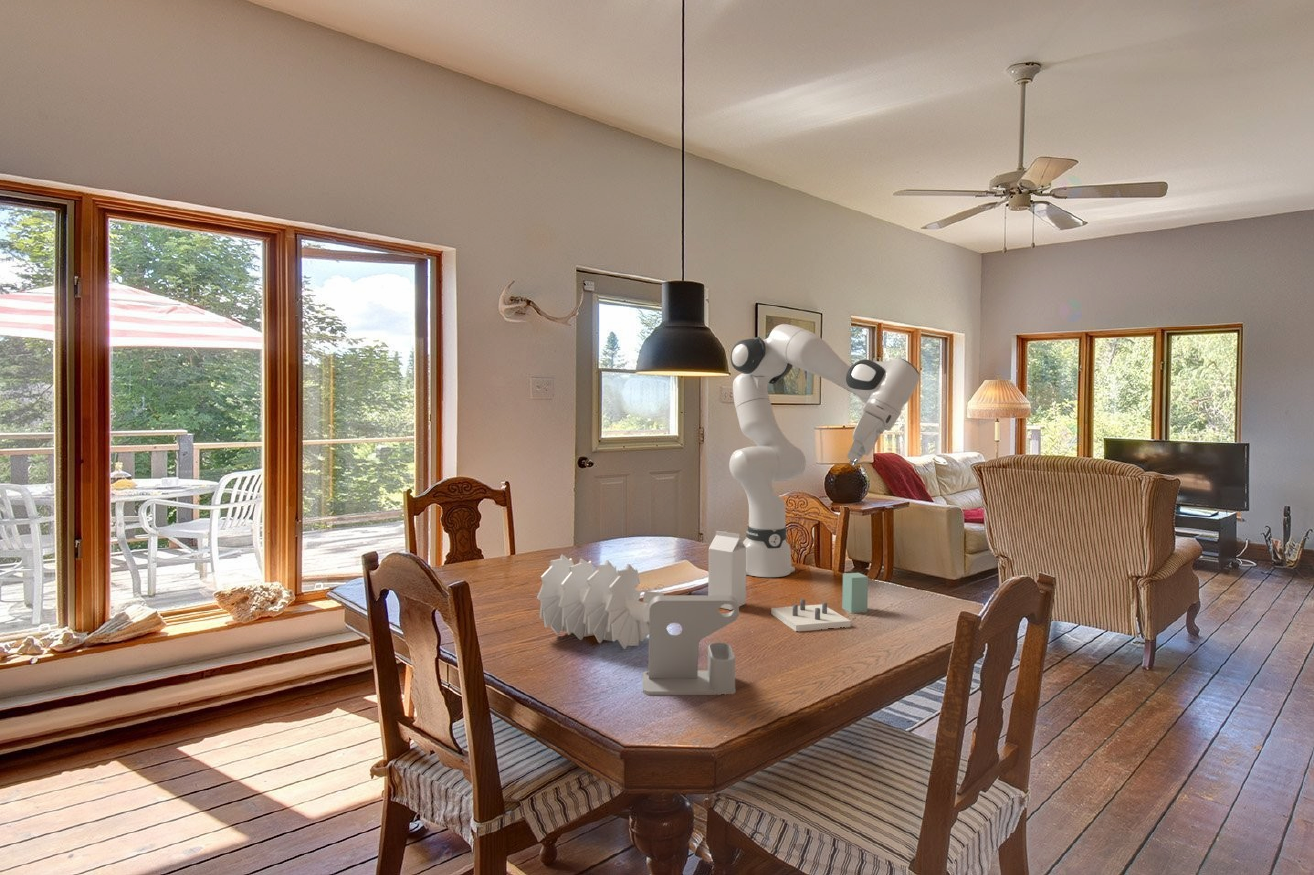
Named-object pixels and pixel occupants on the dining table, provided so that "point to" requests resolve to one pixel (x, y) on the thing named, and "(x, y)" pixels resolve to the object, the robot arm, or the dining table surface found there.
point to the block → (855, 592)
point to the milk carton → (727, 567)
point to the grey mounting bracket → (689, 646)
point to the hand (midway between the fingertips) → (850, 461)
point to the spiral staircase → (595, 601)
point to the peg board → (810, 617)
